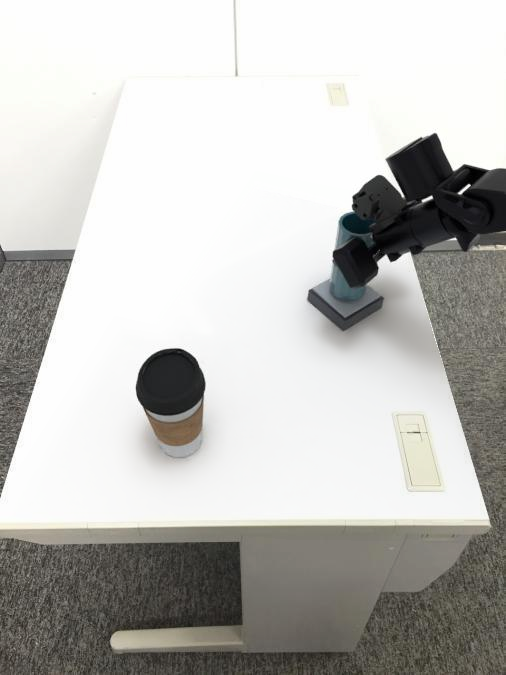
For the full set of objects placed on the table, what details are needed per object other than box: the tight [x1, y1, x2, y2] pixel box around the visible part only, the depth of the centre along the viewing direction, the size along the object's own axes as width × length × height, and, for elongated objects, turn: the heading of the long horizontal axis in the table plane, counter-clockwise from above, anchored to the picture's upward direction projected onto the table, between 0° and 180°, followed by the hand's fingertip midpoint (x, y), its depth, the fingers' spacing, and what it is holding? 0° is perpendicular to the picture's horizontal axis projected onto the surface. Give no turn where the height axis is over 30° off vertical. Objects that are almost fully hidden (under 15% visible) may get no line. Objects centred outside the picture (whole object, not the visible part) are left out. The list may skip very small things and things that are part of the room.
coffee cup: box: [135, 347, 207, 459], centre depth 68 cm, size 8×8×15 cm
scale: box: [306, 278, 385, 332], centre depth 90 cm, size 9×9×3 cm
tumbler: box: [329, 211, 376, 300], centre depth 83 cm, size 6×6×13 cm
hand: (346, 253), depth 84 cm, fingers closed on tumbler, 6 cm apart
